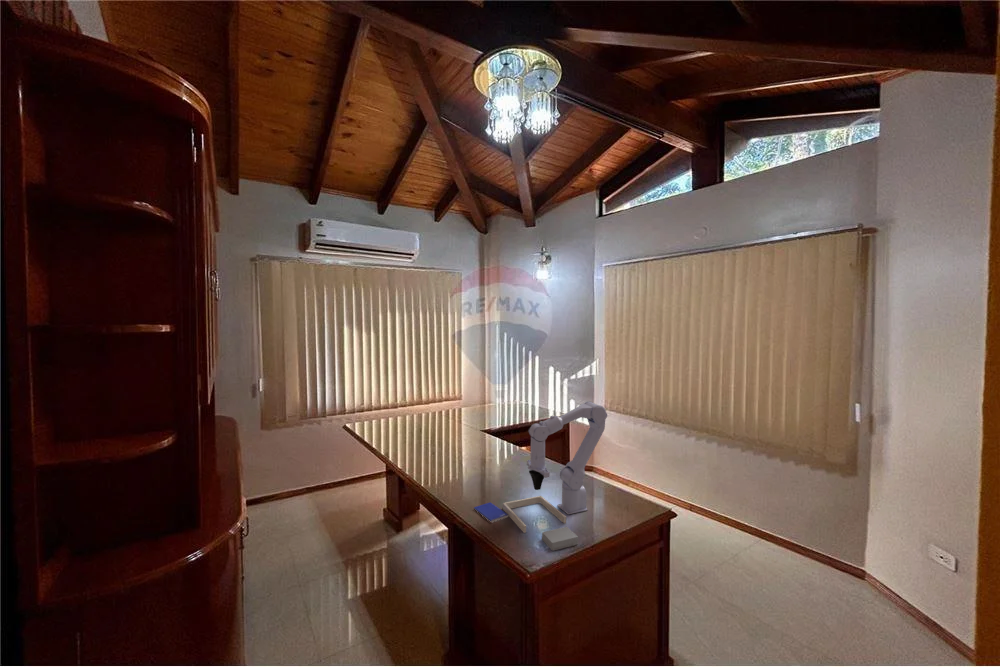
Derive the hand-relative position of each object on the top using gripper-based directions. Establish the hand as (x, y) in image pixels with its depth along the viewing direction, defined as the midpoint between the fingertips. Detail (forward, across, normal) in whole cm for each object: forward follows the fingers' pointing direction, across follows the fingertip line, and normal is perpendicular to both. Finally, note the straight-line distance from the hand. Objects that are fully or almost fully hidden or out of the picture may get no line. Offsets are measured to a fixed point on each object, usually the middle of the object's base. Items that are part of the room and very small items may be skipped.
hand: (537, 489), depth 149 cm
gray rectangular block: (+10, +21, -3) cm, 23 cm away
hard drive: (+10, -7, -17) cm, 21 cm away
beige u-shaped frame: (+9, +2, -3) cm, 10 cm away
